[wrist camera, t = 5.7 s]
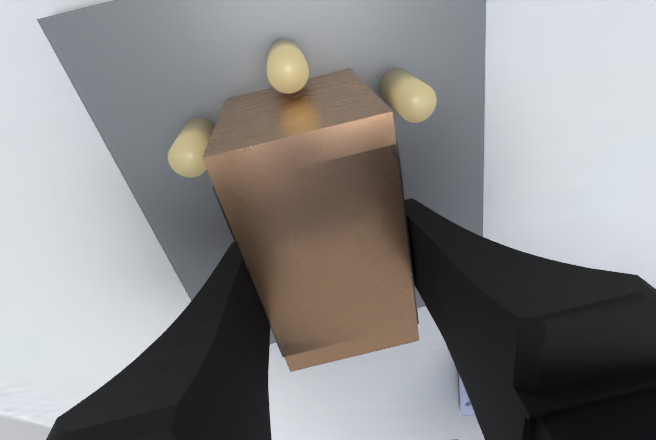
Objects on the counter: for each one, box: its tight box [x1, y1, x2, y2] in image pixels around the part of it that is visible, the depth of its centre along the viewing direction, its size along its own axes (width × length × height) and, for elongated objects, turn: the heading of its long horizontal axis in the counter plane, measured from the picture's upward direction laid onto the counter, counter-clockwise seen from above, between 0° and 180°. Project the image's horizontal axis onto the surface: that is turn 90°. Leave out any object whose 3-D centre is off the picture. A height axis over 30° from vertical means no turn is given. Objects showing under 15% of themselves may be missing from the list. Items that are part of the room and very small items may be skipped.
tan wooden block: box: [202, 68, 419, 372], centre depth 13 cm, size 8×5×6 cm, turn 12°
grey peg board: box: [37, 0, 486, 344], centre depth 15 cm, size 16×14×4 cm
